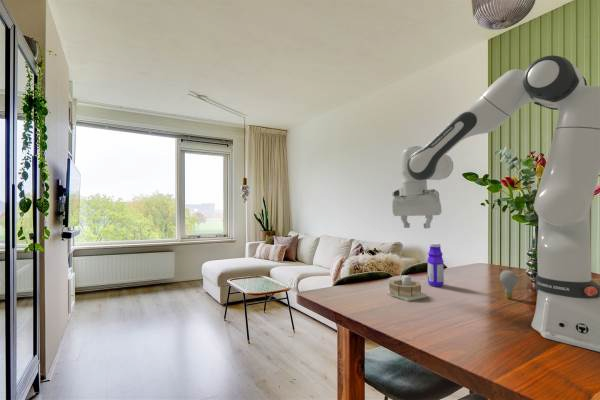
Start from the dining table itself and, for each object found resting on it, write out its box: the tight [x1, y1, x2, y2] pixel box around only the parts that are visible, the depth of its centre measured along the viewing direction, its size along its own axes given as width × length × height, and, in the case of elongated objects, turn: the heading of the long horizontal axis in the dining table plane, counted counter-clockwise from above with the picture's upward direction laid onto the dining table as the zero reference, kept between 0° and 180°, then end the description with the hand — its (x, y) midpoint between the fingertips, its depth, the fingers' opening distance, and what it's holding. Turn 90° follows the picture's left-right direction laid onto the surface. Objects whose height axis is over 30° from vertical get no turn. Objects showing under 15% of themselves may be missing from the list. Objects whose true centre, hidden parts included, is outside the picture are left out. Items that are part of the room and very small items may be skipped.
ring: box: [388, 279, 422, 297], centre depth 122 cm, size 11×11×4 cm
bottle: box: [426, 242, 445, 288], centre depth 136 cm, size 7×6×17 cm
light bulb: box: [499, 269, 519, 300], centre depth 116 cm, size 5×6×10 cm
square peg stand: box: [386, 275, 428, 302], centre depth 121 cm, size 10×10×7 cm
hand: (416, 228), depth 121 cm, fingers open, 8 cm apart
